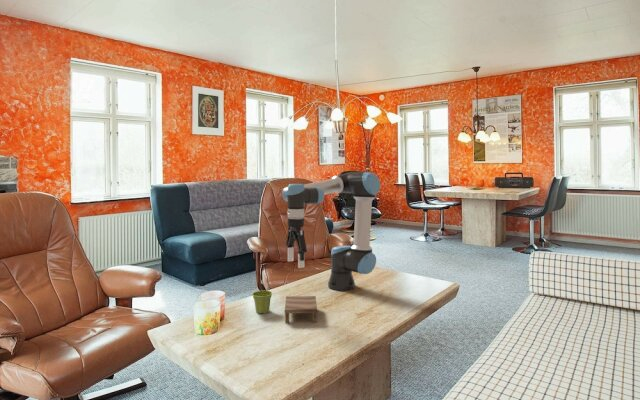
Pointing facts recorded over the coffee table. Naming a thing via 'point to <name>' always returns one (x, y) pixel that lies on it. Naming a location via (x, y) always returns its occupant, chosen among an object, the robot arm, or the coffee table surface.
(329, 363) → the coffee table surface
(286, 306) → the walnut plant stand
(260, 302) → the plant pot
